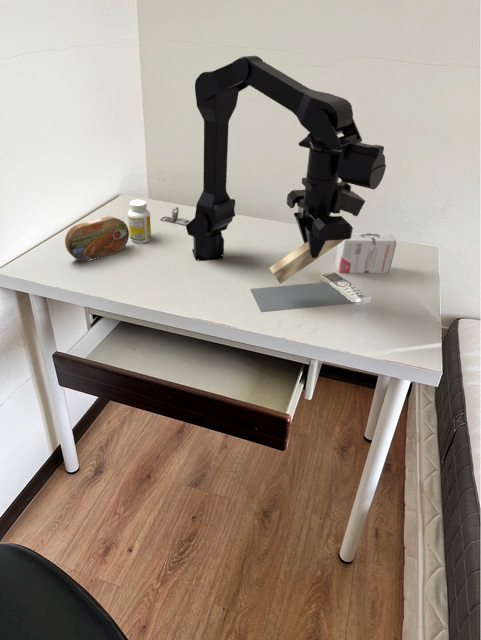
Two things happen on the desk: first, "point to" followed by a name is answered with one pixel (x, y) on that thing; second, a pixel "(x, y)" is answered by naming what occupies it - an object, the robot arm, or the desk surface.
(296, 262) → the beech stick
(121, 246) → the tin
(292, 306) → the tool mat
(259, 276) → the desk surface
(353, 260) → the ink box
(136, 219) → the supplement bottle
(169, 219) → the strap clip
